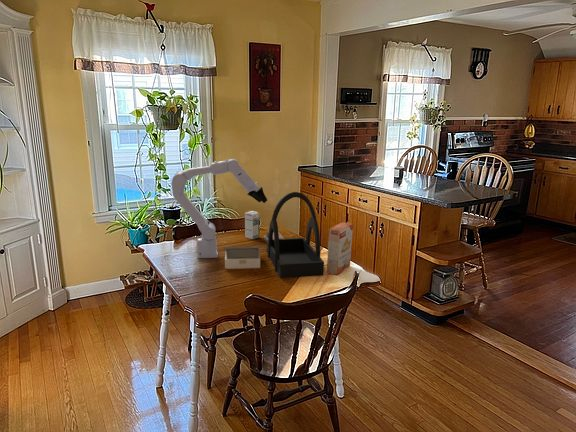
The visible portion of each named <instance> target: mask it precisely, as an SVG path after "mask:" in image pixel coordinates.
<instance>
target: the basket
mask: <svg viewBox="0 0 576 432" xmlns="http://www.w3.org/2000/svg"><path fill="white" fill-rule="evenodd" d="M294 198H298V199H301V200H302V201H304V202H305V204H306V206H307V207H308V209H309V211H310V217H309V219H308V222H307V227H306V235H305V237H292V238H291V237H290V238H284V239H279V233H280V232H279V233H278V231H279V226H278V222H277V221H278V220H277V218H278V215H279V213H280V210H281V208H282V207H283V206H284V204H285V203H286V202H288V201H289V200H291V199H294ZM272 213H273V214H272V216H271V219H270V222H269V227H268V230H269V236H268V240H267V242H266V253H267V258H269V260H271V263H272V265H273V268H274V272H276V273H277V275H278V278H279V279H289V278H290V279H291V278H305V277H306V278H307V277H320V276H324V273H325V261H324V260H323V259H322V257H321V235H320V229H319V224H318V221H317V216H316V212H315V208H314V207H313V204H312V202H311V200H310V199H309V197H308V196H306V195H305V194H304V193H302V192H298V191H292V192H288V193H287V194H285V195H283V197H281V198H280V200H279V201H278V202H277V204H276V206H275V208H274V210H273V212H272ZM312 231H313V234H314V243H315V244H314V245H315V246H314V247H315V249H314V248H313V247H312V245H311V237H312ZM273 232H274V239H273Z"/></svg>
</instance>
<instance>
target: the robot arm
mask: <svg viewBox="0 0 576 432" xmlns="http://www.w3.org/2000/svg"><path fill="white" fill-rule="evenodd" d="M226 173H227V174H228V173H231V174H232V175H233V176H234V178H235V179H236V181H238V183H240V185H241V186H242V188H244V189H245V191H246V195H247V196H249V197H252V198H253V199H254V200H255V201H257V202H258V203H261V202H262V203H263V204H265V203H267V201H268V198H267V196H266V193H264V190H263V187H262V186H260V187H259V186H258V184H259V181H254V180H253V178H252V177H251V176H250V175H249V174H248V172H247V171H246V170H245V169H244V168H243V166H241V165H240V163H239V161H238V160H237V159H234V158H229V159H227V158H226V159H225V160H222V161H217V160H214V162H211V164H210V165H206V166H199V167H191V168H185V169H183V170H178V171H176V173H175V174H174V176H173V177H172V178H171V179H172V180H171V183H170V184H171V188H172V189H171V190H172V197H173V198H174V199H175V201H177V203H178V204H179V205H180V207H182V209H183V210H184V211H185V213H187V215H188V217H190V219H191V220H193V222H194V223H195V224H196V226H197V227H198V230H199V231H200V233H201V237H200V238H199V237H198V238H197V240H196V241H197V242H196V246H197V247H196V248H197V249H196V253H197V259H211V258H212V259H217V258H218V255H219V254H218V253H219V251H217V250H218V247H217V246H218V245H217V243H218V242H217V236H216V226H215V224H214V223H213V222H211V221H209V220H208V218H205V216H204V215H203V214H202V212H201V211H200V210H199V209H198V208H197V206H195V204H194V203H193V202H192V200H190V198H189V197H188V195H186V193H185V189H186V184H187V181H191V180H192V179H193V178H194V177H196V176H197V177H198V176H201V175H206V174H212V175H215V176H217V175H222V174H226Z"/></svg>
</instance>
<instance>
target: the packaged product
mask: <svg viewBox="0 0 576 432" xmlns="http://www.w3.org/2000/svg"><path fill="white" fill-rule="evenodd" d="M278 233H279V239H285V237H284V236H283V235H282V234H281V233H280V231H279V230H278ZM268 236H269V229H267V230H266V234H263V239H264V240H265V243H267V240H268ZM273 239H274V232H273Z"/></svg>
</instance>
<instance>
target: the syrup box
mask: <svg viewBox="0 0 576 432" xmlns="http://www.w3.org/2000/svg"><path fill="white" fill-rule="evenodd" d="M244 230H245V231H244V233H245V236H244V237H245V238H246V239H250V240H254V239H257V238H260V211H259V212H258V211H255V210H251V211H246V212H244Z"/></svg>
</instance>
